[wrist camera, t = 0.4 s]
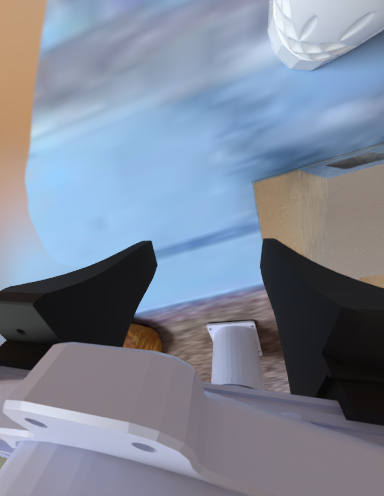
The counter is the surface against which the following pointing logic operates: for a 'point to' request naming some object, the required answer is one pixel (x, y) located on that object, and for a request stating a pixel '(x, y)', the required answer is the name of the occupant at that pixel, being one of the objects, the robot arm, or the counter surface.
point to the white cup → (321, 29)
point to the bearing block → (330, 212)
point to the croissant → (142, 338)
